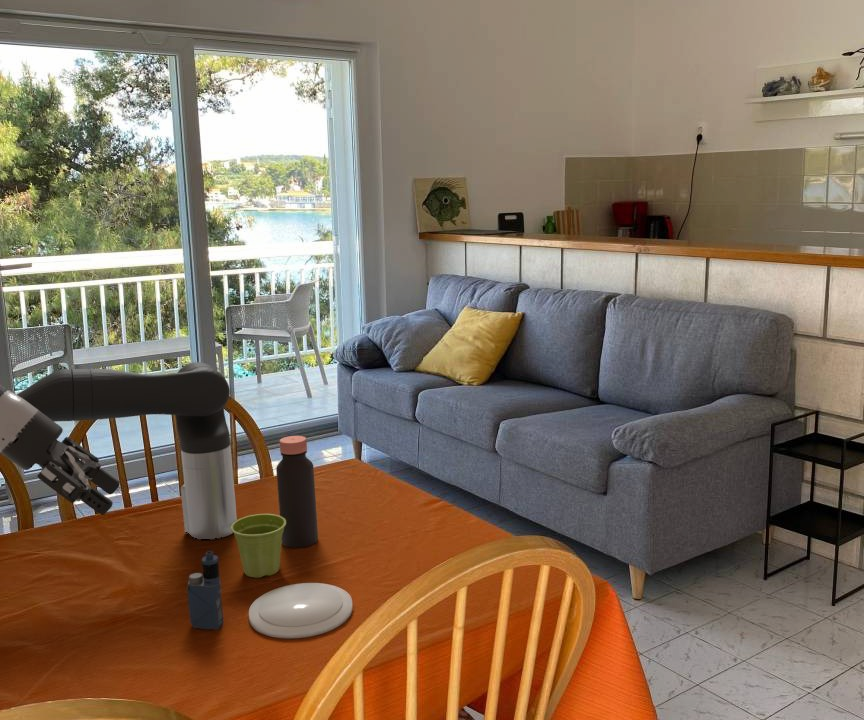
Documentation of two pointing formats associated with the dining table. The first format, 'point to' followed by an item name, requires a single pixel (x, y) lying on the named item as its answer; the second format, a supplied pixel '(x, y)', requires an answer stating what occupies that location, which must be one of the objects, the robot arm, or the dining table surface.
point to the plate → (300, 610)
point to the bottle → (297, 493)
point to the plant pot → (259, 543)
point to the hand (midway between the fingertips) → (112, 499)
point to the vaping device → (206, 595)
